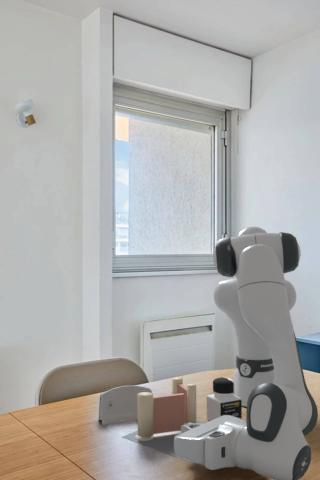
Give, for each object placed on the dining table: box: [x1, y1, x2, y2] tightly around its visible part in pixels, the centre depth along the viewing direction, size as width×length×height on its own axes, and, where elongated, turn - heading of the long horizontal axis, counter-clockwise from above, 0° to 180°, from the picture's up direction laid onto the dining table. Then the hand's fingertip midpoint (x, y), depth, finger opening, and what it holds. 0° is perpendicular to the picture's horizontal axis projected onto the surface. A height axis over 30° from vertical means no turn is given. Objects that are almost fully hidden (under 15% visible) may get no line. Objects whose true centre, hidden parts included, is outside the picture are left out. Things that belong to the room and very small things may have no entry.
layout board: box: [121, 420, 205, 465], centre depth 122 cm, size 22×24×1 cm
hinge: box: [98, 385, 153, 426], centre depth 138 cm, size 17×5×10 cm, turn 109°
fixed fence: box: [171, 377, 197, 424], centre depth 131 cm, size 14×3×12 cm, turn 18°
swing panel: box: [137, 392, 185, 437], centre depth 122 cm, size 13×4×10 cm, turn 112°
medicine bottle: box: [206, 376, 243, 422], centre depth 133 cm, size 7×7×12 cm
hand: (184, 427), depth 112 cm, fingers closed
